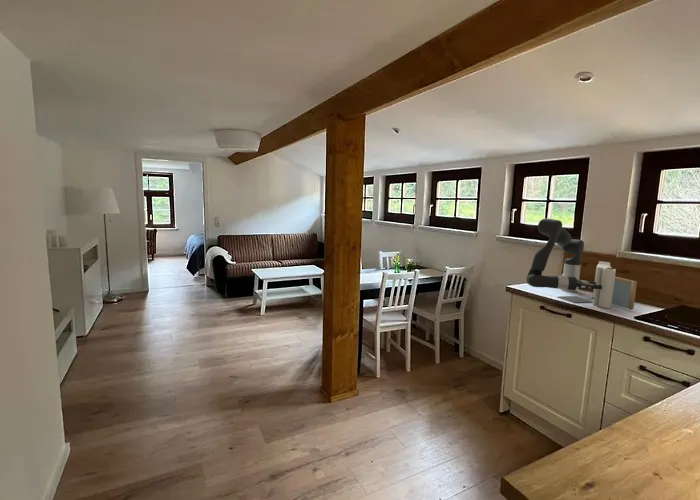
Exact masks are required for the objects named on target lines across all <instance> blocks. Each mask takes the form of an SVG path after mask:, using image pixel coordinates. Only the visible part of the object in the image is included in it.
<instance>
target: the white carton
mask: <svg viewBox="0 0 700 500" xmlns="http://www.w3.org/2000/svg"><path fill="white" fill-rule="evenodd" d="M616 271H617V269H616V268H598V272H597V280H596V285H602V289H595V296H594V297H593V306H598V307H600V308H603V309H611V308H612V306H613V304H612V297H613V289H614V282H615V277H616Z"/></svg>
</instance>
